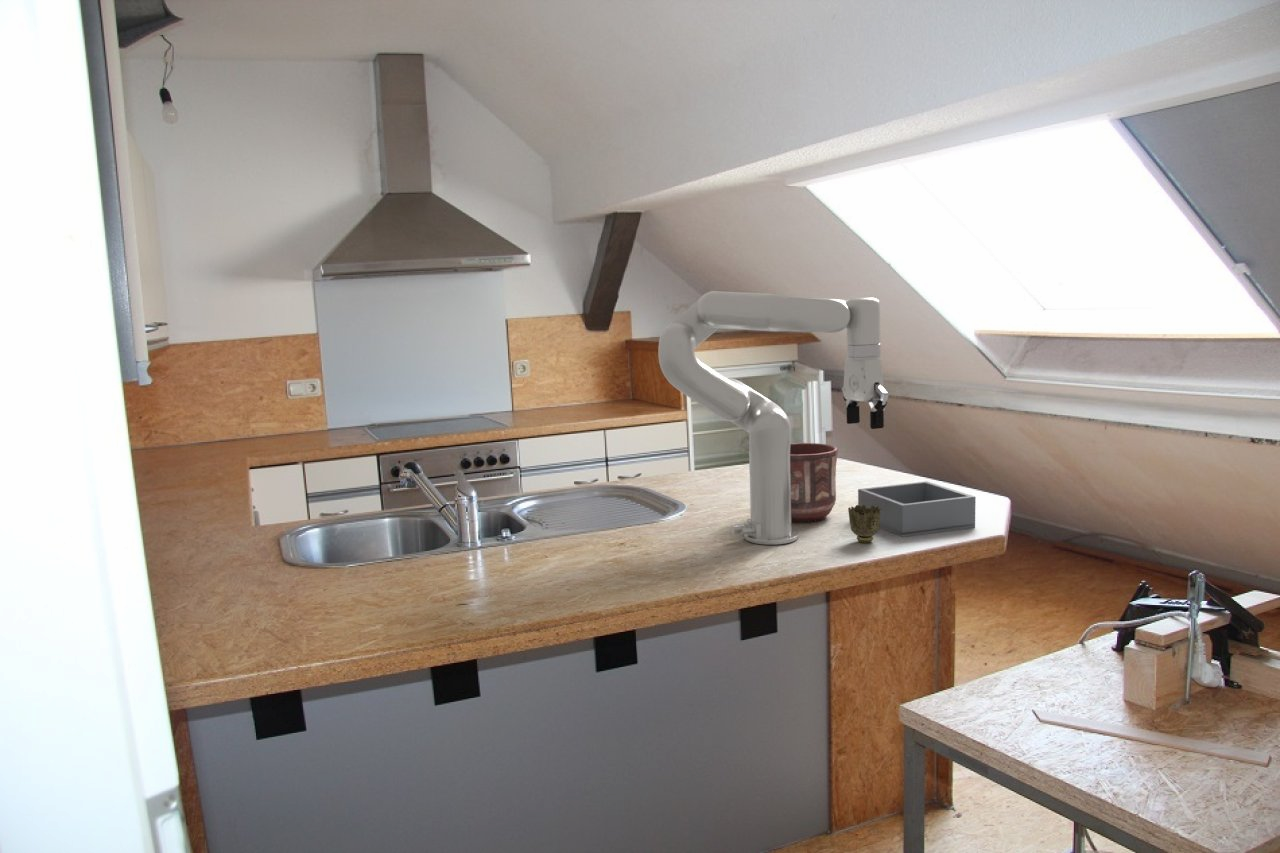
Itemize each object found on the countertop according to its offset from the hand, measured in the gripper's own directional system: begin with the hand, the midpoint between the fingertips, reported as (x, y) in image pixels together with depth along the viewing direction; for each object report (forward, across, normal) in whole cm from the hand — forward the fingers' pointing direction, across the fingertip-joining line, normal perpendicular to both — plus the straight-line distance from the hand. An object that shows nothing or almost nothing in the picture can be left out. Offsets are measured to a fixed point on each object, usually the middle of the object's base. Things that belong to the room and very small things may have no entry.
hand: (864, 425), depth 223 cm
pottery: (+26, -23, -4) cm, 35 cm away
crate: (+26, -5, +17) cm, 32 cm away
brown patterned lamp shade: (+26, +4, -3) cm, 27 cm away
